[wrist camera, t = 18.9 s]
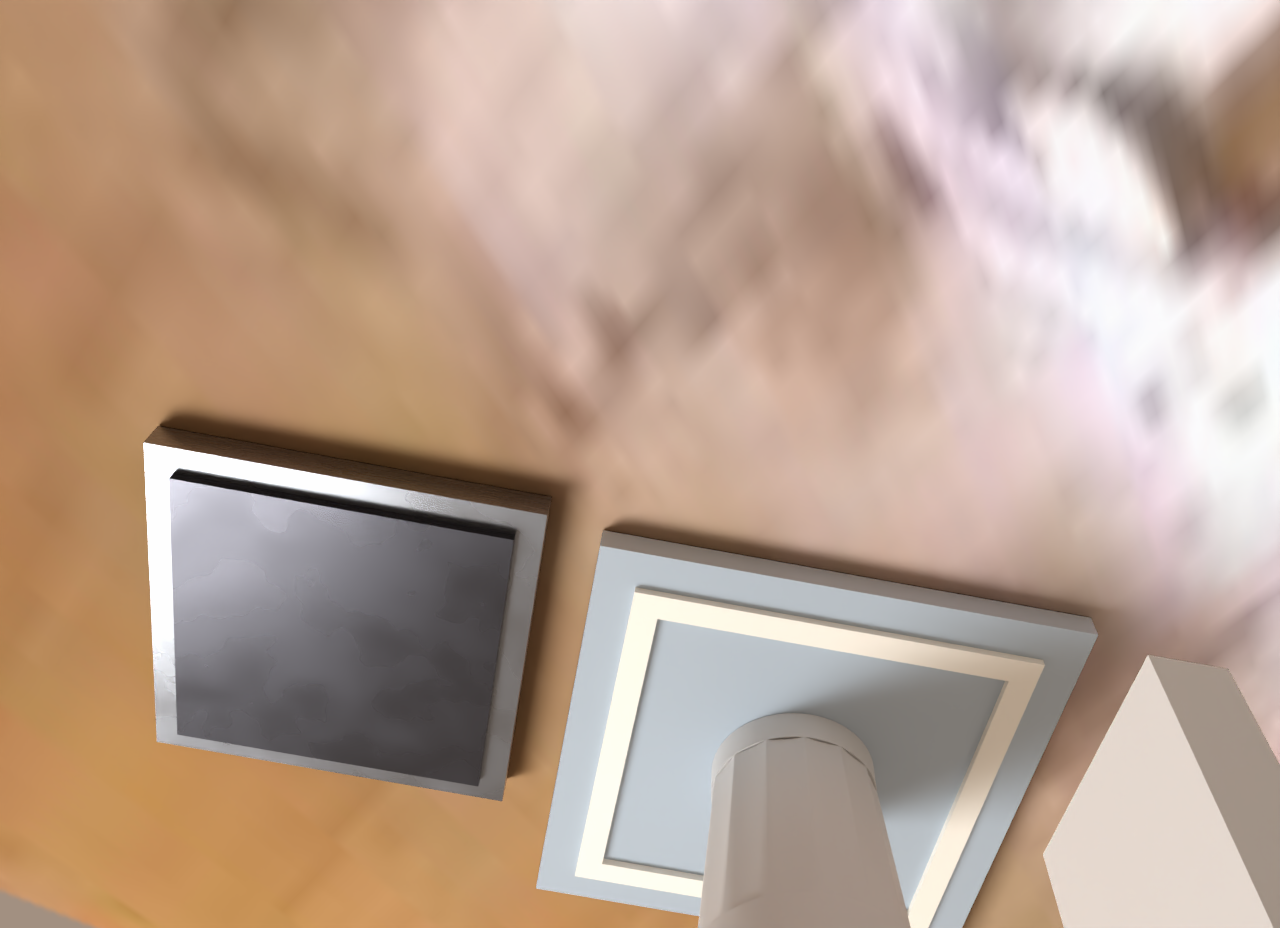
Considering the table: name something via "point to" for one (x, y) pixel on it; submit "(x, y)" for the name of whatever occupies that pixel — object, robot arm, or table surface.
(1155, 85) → the table surface
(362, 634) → the ink pad
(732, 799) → the cup
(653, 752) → the board
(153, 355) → the table surface
